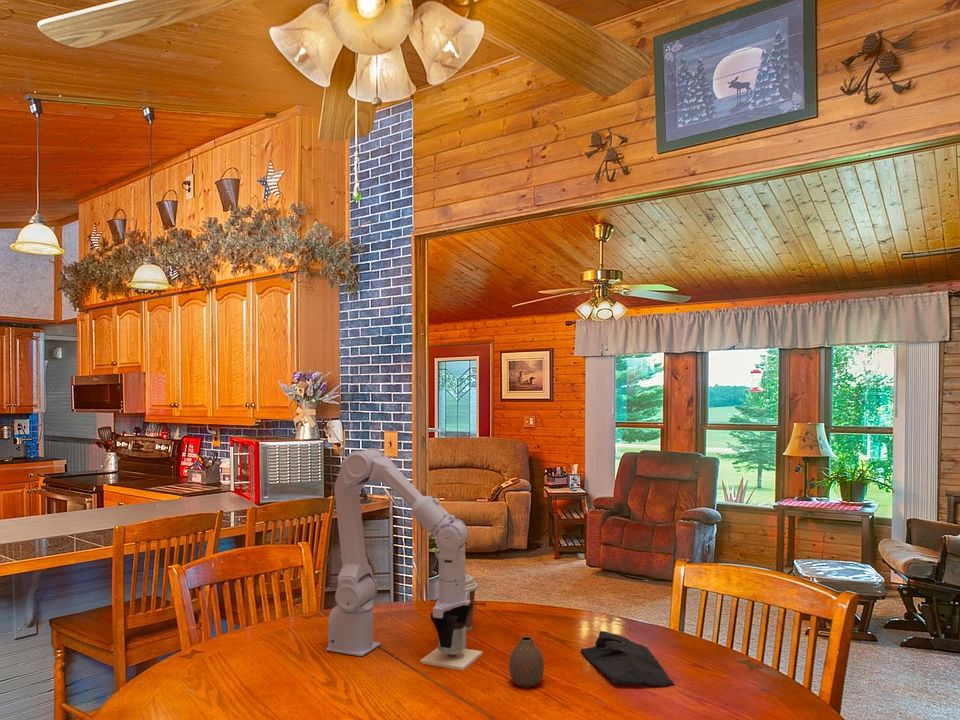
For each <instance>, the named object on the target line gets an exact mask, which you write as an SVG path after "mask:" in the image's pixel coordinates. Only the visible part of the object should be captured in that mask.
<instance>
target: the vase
mask: <svg viewBox="0 0 960 720" xmlns="http://www.w3.org/2000/svg"><path fill="white" fill-rule="evenodd" d="M509 655H510V656H509V660H508V670H509V675H510V677H511V679H512V681H513V682H514V683H515V684H516V685H517V687H518V686H519V687H521V686H522V688H533V687H535V685H536V686H537V685H538V684H539V683H540V682H541V680H542V678H543V675H544V672H545V661H544V656H543V653H542V652H541V650H540V649H539V647H538V645H536V643H535V641H534V639H533V637H532V636H525V635H524V636H521V637H520V639H519V641H518V643H517V644H516V645H515V646H514V648H513V649H512V650H511V653H510V654H509ZM532 686H533V687H532Z"/></svg>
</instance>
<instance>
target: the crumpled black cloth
mask: <svg viewBox="0 0 960 720" xmlns="http://www.w3.org/2000/svg"><path fill="white" fill-rule="evenodd" d="M580 652H581V653H582V654H583V655H584V657H586V658H587V660H588V661H589V662H590V664H592V665H594V667H596V666H597V667H596V668H597V670H599V672H601V674H602V675H604V676H605V677H606V678H607V680H609V679H610V681H611V682H613V683H614V684H615V685H618V686H619V685H620V686H621V685H631V686H636V685H637V686H643V687H655V688H656V687H657V688H658V687H659V688H666V687H671V686H675V683H674V682H673V680H671V678H670V677H669V675H668V674H667V673H666V670H664V667H663V666H662V665H661V663H660V662H659V660H657V659H656V657H655V655H653V654H652V652H651V651H650V650H649V648H648V647H646V646H644V645H642V644H639V643H636V642H634V641H632V640H630V639H629V638H627V637H624V636H623V635H619V634H617V633H616V634H615V633H611V632H608V631H604V630H600V631H599V632H598V637H597V638H596V641H595V645H594V646H592V647H591V646H590V647H587V648H586V647H585V648H581V649H580Z"/></svg>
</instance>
